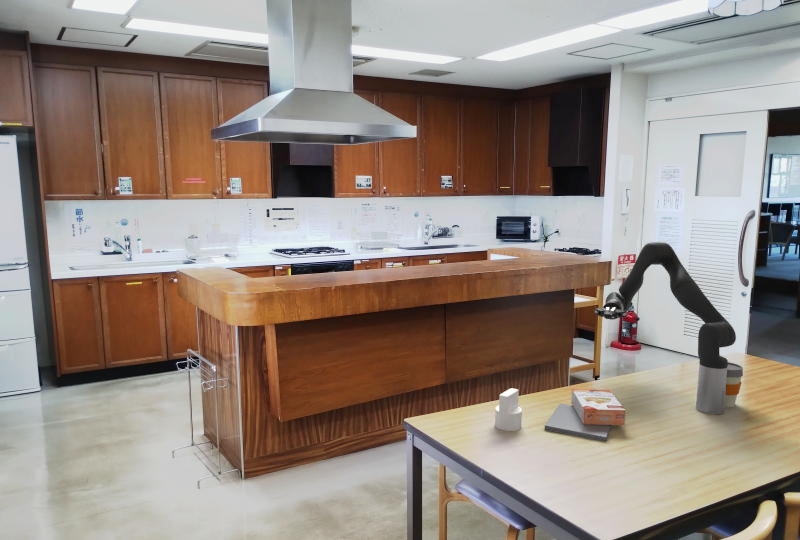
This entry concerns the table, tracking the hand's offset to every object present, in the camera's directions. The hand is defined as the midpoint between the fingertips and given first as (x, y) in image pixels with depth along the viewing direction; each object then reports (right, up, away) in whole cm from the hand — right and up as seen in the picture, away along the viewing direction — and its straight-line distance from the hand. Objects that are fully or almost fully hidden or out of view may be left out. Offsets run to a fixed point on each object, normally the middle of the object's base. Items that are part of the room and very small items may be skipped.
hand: (607, 316), depth 234 cm
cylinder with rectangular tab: (-45, -36, -30) cm, 65 cm away
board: (-19, -35, -28) cm, 49 cm away
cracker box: (-11, -29, -13) cm, 34 cm away
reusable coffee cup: (+41, -33, -8) cm, 53 cm away
